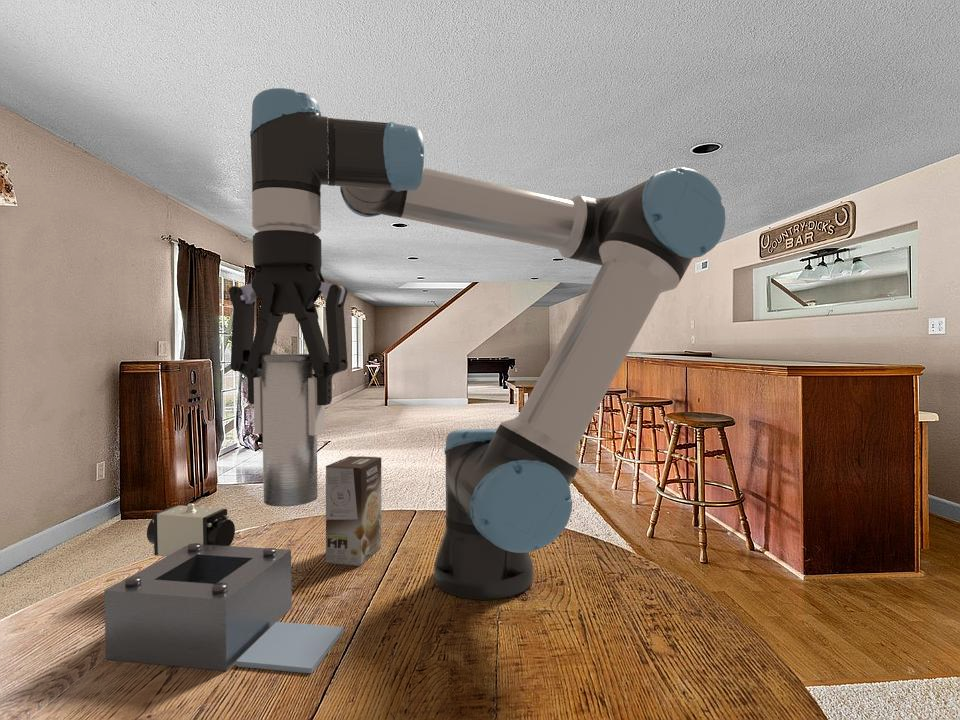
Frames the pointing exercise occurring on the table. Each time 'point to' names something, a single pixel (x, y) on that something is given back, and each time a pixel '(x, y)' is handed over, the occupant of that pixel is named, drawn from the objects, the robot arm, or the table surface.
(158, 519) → the pneumatic valve
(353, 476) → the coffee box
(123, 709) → the table surface
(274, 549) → the housing
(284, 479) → the metal cylinder
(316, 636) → the pad
